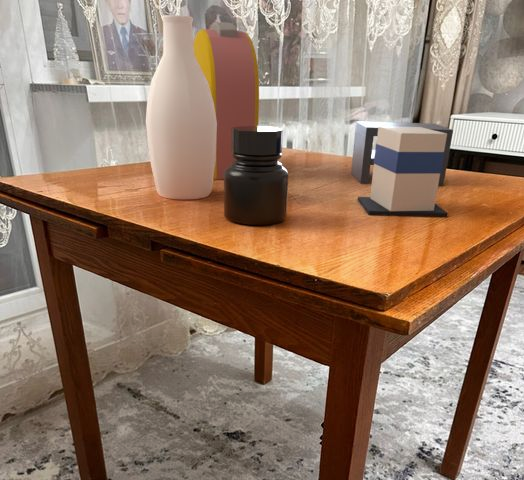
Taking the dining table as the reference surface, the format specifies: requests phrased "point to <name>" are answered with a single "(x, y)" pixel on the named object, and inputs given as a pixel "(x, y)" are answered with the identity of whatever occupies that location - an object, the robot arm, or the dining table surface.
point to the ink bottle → (256, 177)
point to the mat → (377, 209)
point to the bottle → (181, 117)
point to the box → (407, 168)
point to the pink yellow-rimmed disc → (229, 83)
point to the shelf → (365, 154)
